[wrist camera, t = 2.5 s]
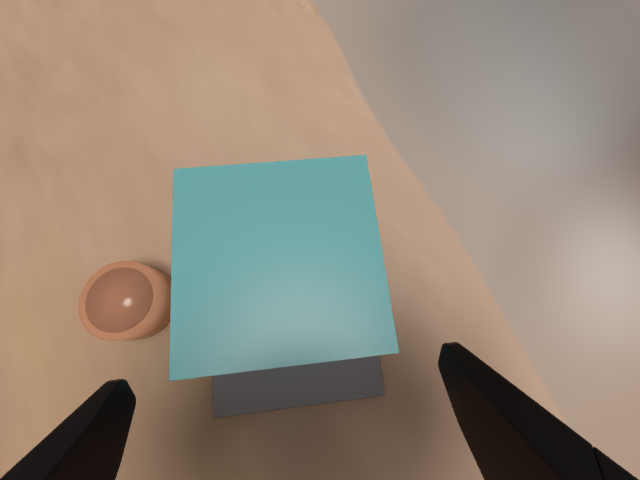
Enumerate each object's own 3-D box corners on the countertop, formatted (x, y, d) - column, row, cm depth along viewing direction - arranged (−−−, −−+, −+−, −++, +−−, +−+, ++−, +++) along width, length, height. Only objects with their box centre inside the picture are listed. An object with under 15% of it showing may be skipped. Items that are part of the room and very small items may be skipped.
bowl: (177, 334, 19) (158, 335, 16) (103, 342, 18) (73, 345, 16) (178, 265, 20) (160, 256, 18) (108, 271, 20) (81, 264, 17)
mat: (383, 393, 18) (385, 395, 18) (215, 416, 18) (213, 418, 17) (355, 208, 21) (356, 206, 21) (212, 221, 21) (210, 219, 20)
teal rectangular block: (355, 339, 19) (399, 353, 10) (234, 353, 18) (168, 381, 9) (340, 226, 21) (366, 154, 12) (230, 236, 20) (173, 169, 11)
